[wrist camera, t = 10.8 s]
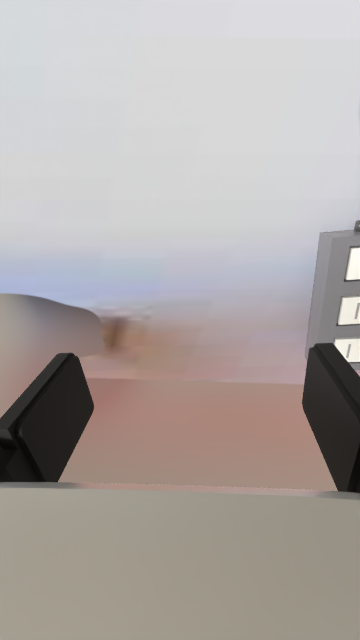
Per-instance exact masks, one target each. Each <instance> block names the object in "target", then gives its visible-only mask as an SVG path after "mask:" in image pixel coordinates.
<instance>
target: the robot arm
mask: <svg viewBox="0 0 360 640" xmlns="http://www.w3.org/2000/svg"><path fill="white" fill-rule="evenodd" d="M302 404H303V409H304V412H305V414H306V417H307V419H308V422H309V424H310V426H311V429H312V431H313V433H314V436H315V438H316V440H317V443H318V445H319V447H320V450H321V452H322V454H323V457H324V459H325V461H326V464H327V466H328V468H329V471H330V473H331V476H332V478H333V480H334V483H335V485H336V487H337V490H338V491H322V490H303V489H302V490H301V489H280V488H250V487H218V486H187V485H186V486H185V485H184V486H183V485H148V484H110V483H63V482H62V483H61V482H59V483H58V480H59V478H60V476H61V474H62V472H63V470H64V468H65V466H66V464H67V462H68V460H69V458H70V456H71V454H72V453H73V450H74V449H75V447H76V444H77V443H78V440H79V439H80V437H81V434H82V433H83V431H84V429H85V427H86V425H87V423H88V421H89V419H90V417H91V415H92V413H93V409H94V404H93V401H92V397H91V394H90V391H89V388H88V385H87V382H86V379H85V376H84V373H83V370H82V367H81V364H80V361H79V358H78V357H77V356H75V355H74V354H73V353H59V354H57V355H56V356H55V357H54V358H53V360H52V361H51V362H50V363H49V364H48V365H47V366H46V368H45V369H44V370H43V371H42V372H41V373H40V374H39V376H37V378H36V379H35V380H34V381H33V382H32V383H31V384H30V386H29V387H28V388H27V389H26V390H25V391H24V392H23V394H22V395H21V396H20V397H19V398H18V399H17V400H16V401H15V403H14V404H13V405H12V406H11V407H10V408H9V409H8V410H7V412H6V413H5V414H4V415H3V416H2V417H1V418H0V640H360V377H359V375H358V374H357V373H356V372H355V370H354V369H353V368H352V366H351V365H350V364H349V363H348V361H347V360H346V359H345V358H344V356H343V355H342V354H341V353H340V351H339V350H338V349H337V348H336V346H335V345H334V344H333V343H316V344H315V345H314V347H310V348H309V353H308V361H307V368H306V376H305V384H304V392H303V400H302Z"/></svg>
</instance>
